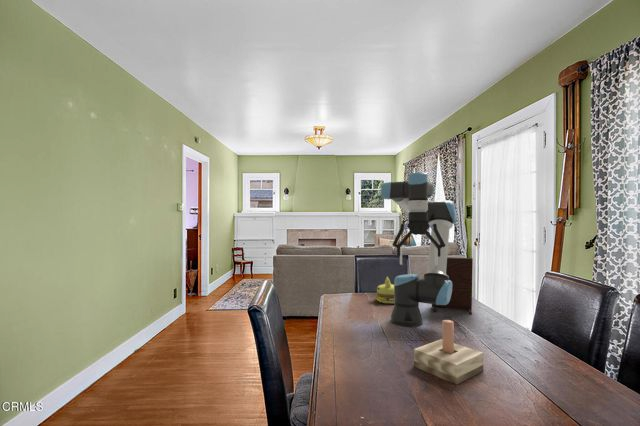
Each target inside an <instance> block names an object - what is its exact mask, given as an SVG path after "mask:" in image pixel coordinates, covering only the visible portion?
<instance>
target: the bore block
mask: <svg viewBox="0 0 640 426" xmlns="http://www.w3.org/2000/svg"><path fill="white" fill-rule="evenodd" d="M413 366H414V368H417V369H419V370H421V371H423V372H427V373H429V374H430V375H433V376H435V377H438V378H440V379H443V380H445V381H446V382H447V381H448V382H449V383H452V384H455V385H459V384H461V383H463V382H465V381H467V380H468V379H470V378H473V377H474V376H476V375H478V374H480V373H482V372H484V352H482V351H479V350H476V349H473V348H470V347H468V346H464V345H461V344H457V343H455V342H454V354H451V355H450V354H447V353H444V352H443V338H440V339H437V340H435V341H433V342H430V343H427V344H425V345H421V346H418V347H416V348H414V349H413Z"/></svg>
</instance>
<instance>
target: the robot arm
mask: <svg viewBox="0 0 640 426" xmlns="http://www.w3.org/2000/svg"><path fill="white" fill-rule="evenodd" d="M435 189H436V188H435V186H434V184H433V183H432V182H431V181H429V176H428V173H426V172H412V173H409V174H408V180H407V181H389V182H384V183H382V185H381V187H380V194H381V197H382V199H383V200H387V201H388V200H389V201H390V200H392V201H393V202H394V203H395V204H396V205H398V206H399V207H400V208H401V209H402V210H403V212H404V214H405V215H406V216H407V217H408V223H406V224H405V223H400V224H399V225H400V226H399V230H398V232H397V235H396V236H395V238H394V239H393V242H392V246H393V247H395V248H396V255H397V257H399V265H400V266H403V248H402V246H403V245H404V244H405V243H406V242H407V240H408V239H409V238H410V237H411V236H412V235H413V236H414V235H420V236H422V235H425V236H426V237H427V238H428V240H429V241H430V243H429V253H428V263H427V264H428V265H427V271H426V272H425V273H423V278H422V277H420V276H419V274H415V273H409V274H400V275H397V276H395V278H394V282H393V283H394V284H393V285H394V305H393V309H392V312H391V316H390V322H391V323H392V324H393V325H397V326H400V327H410V328H411V327H419V326H422V325H423V317H422V313H421V310H420V307H419V306H420V305H419V303H421V304H427V305H428V304H430V305H432V304H436V305H447V304H448V303H449V301H450V298H451V294H452V281H450V280H449V276H448V275H447V274H446V268H447V257H448V255H449V254H448V251H449V239H450V229H452V228H453V226H454V224H455V223H457V219H458V217H457V210H456V205H455V202H454V201H453V200H446V199H445V200H429V198H431V197H432V196H433V195H434V194H435ZM406 228H407V229H408V230H409V231H408V232H407V233H406V234H405V236H403V238H402V239H401V240H400V238H401V236H402V234H403V232H404V230H406ZM429 228H430V229H431V230H430V232H429V231H428V230H429ZM399 240H400V241H399ZM398 242H399V243H398Z"/></svg>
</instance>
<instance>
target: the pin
mask: <svg viewBox="0 0 640 426" xmlns="http://www.w3.org/2000/svg"><path fill="white" fill-rule="evenodd" d="M441 322H442V323H441V325H442V340H443V352H444V353H447V354H450V355H451V354H454V343H455V334H454V333H455V331H454V330H455V328H454V327H455V326H454V325H455V324H454V321H453V320H450V319H443V320H442V321H441Z"/></svg>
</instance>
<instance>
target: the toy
mask: <svg viewBox="0 0 640 426" xmlns="http://www.w3.org/2000/svg"><path fill="white" fill-rule="evenodd" d="M376 293H377V294H376V296H375V299H376V300H377V302H378V301H379V302H378V303H381V302H382V303H381V304H394V284H392V283H391V280H390V278H389V276H386V277H385V279H384V282H383V283H382V284H379V285H378V286H377V287H376Z"/></svg>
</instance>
